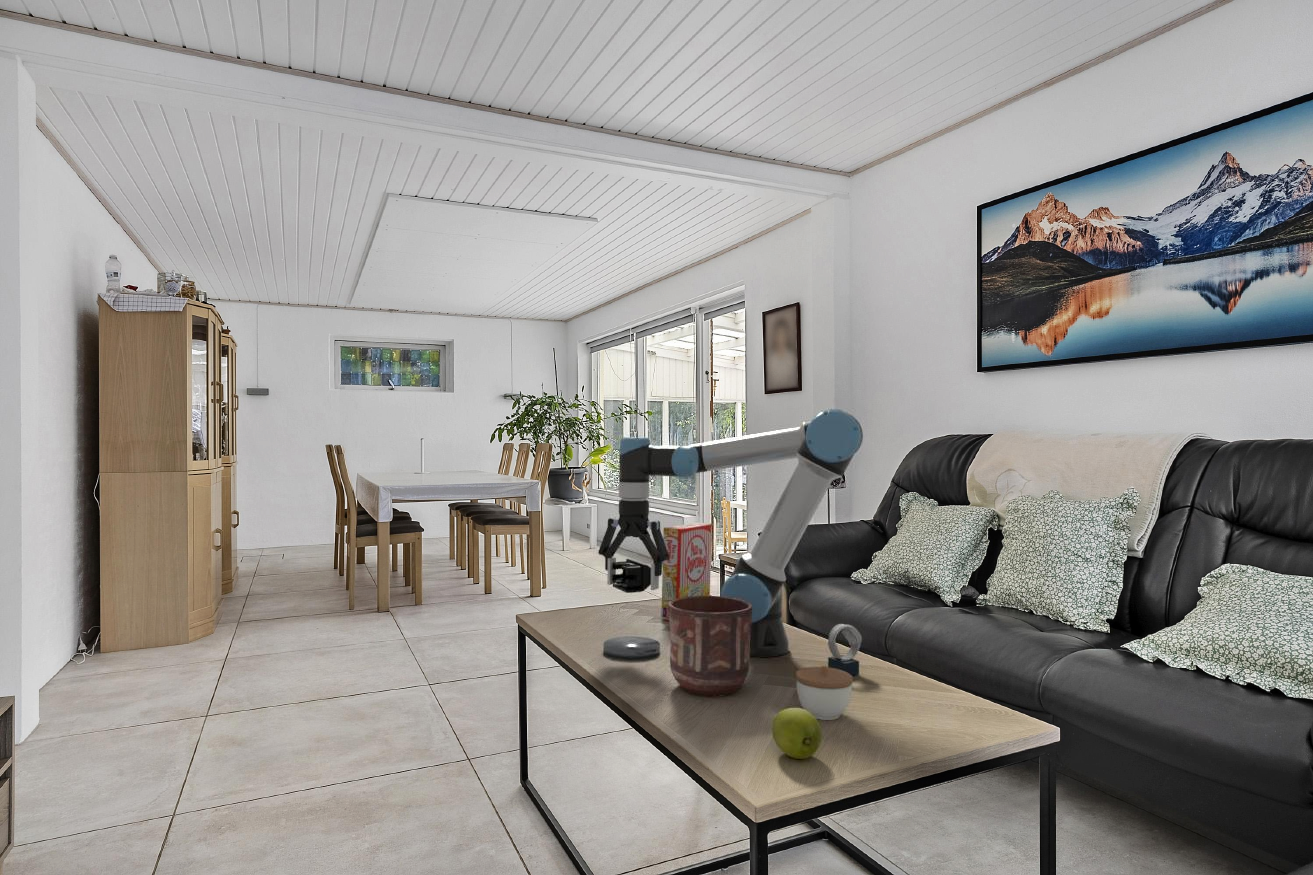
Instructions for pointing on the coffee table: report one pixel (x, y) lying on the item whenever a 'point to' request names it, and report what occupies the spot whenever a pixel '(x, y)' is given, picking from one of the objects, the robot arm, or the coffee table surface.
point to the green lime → (796, 732)
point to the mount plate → (631, 648)
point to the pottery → (710, 643)
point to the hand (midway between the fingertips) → (632, 586)
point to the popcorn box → (686, 563)
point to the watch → (846, 661)
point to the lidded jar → (824, 691)
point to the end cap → (631, 576)
